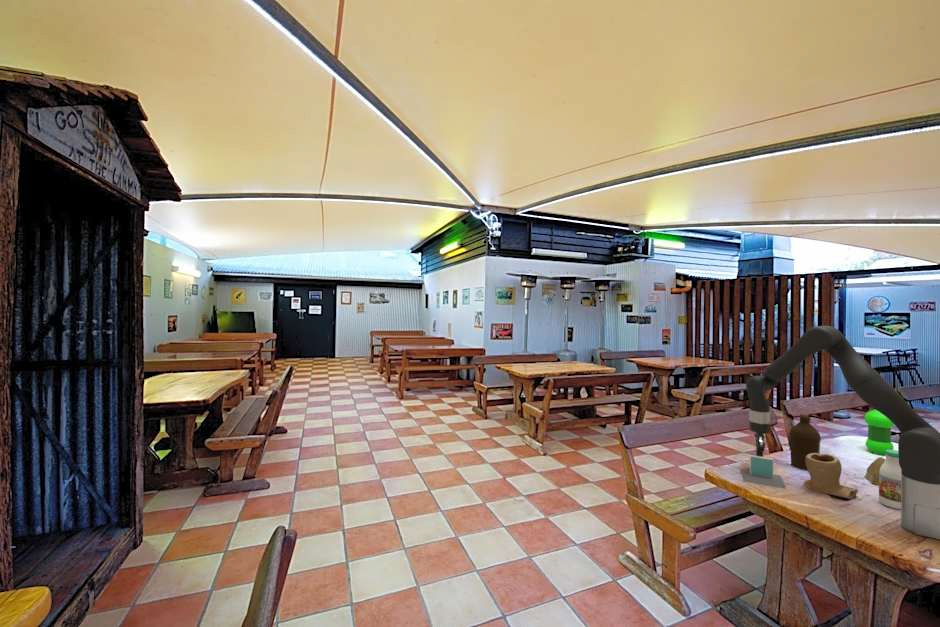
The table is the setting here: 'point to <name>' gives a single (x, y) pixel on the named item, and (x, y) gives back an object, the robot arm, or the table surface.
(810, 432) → the olive oil
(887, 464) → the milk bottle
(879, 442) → the plastic bottle
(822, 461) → the tan hollow piece
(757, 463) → the tile
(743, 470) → the mat
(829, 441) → the table surface
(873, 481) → the rock
